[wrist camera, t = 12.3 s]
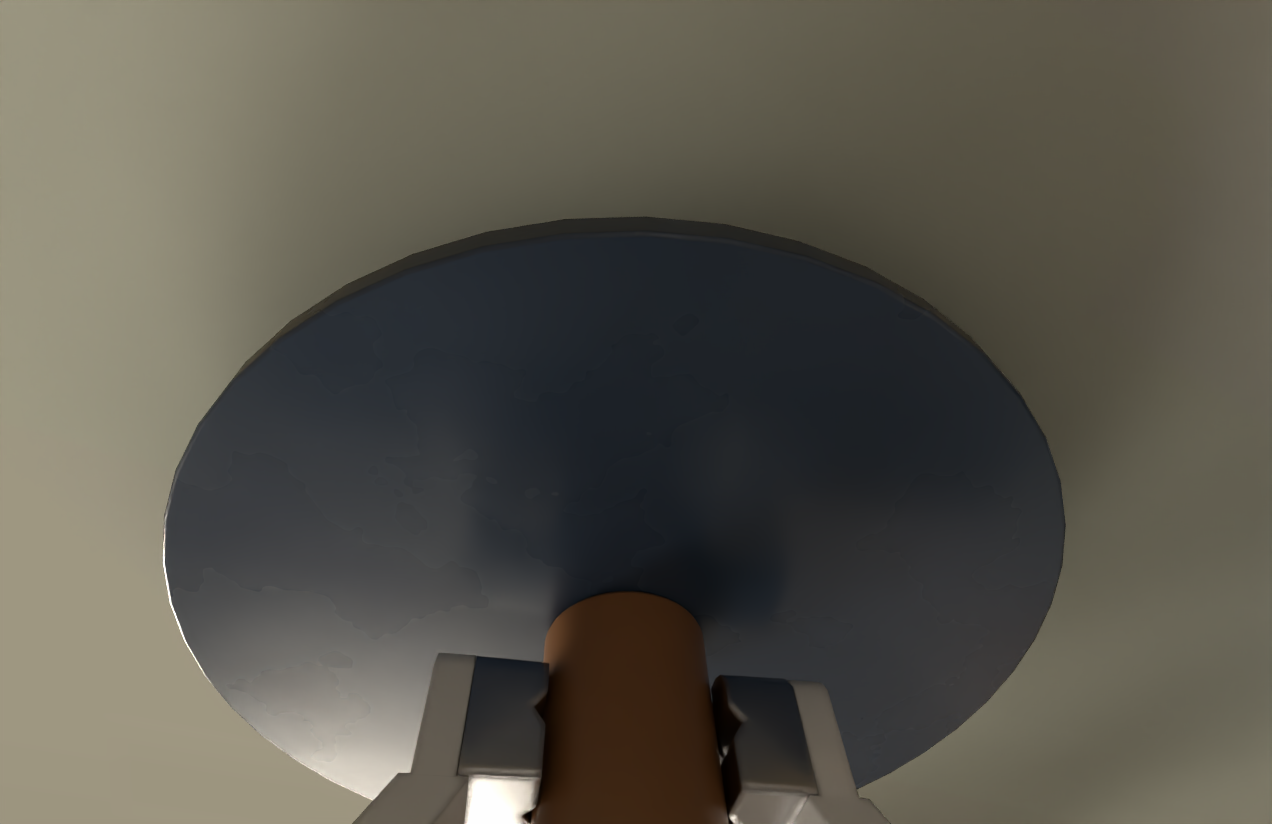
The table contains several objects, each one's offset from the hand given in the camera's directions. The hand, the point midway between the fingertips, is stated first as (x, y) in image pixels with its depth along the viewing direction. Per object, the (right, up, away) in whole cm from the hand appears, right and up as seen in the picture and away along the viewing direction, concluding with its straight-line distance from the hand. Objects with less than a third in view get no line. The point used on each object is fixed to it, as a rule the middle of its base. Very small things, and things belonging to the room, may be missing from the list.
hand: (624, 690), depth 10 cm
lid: (0, +1, +1) cm, 1 cm away
